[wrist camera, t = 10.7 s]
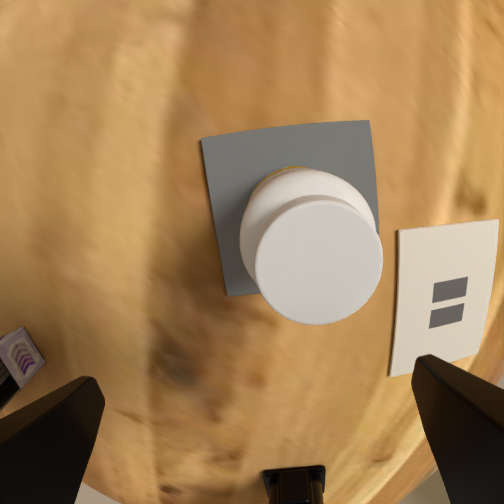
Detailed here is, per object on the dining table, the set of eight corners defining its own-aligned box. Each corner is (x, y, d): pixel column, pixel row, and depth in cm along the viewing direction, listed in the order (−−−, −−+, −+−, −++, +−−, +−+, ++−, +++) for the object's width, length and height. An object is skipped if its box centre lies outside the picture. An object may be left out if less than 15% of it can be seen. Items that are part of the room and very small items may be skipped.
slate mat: (377, 275, 20) (379, 277, 19) (228, 293, 21) (227, 296, 20) (367, 120, 17) (369, 120, 16) (202, 138, 18) (200, 138, 17)
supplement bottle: (328, 261, 19) (374, 352, 10) (242, 246, 19) (218, 331, 10) (347, 175, 18) (424, 199, 8) (257, 157, 17) (246, 158, 8)
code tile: (476, 351, 21) (477, 353, 21) (389, 375, 22) (390, 377, 22) (496, 218, 18) (498, 219, 18) (397, 229, 19) (399, 230, 18)
